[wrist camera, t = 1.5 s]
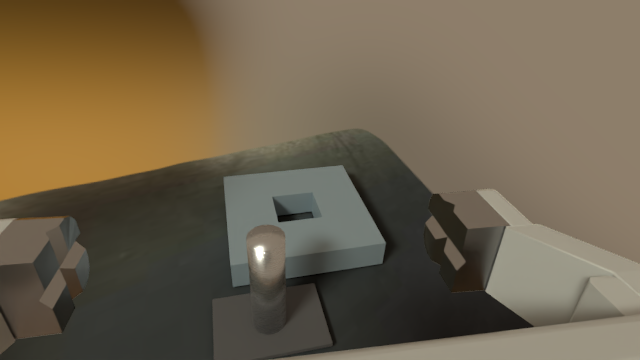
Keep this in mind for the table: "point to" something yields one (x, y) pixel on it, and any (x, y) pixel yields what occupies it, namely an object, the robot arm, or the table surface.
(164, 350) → the table surface
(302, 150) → the table surface
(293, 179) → the grey square hole board
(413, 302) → the table surface
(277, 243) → the steel pin
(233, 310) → the rubber mat
